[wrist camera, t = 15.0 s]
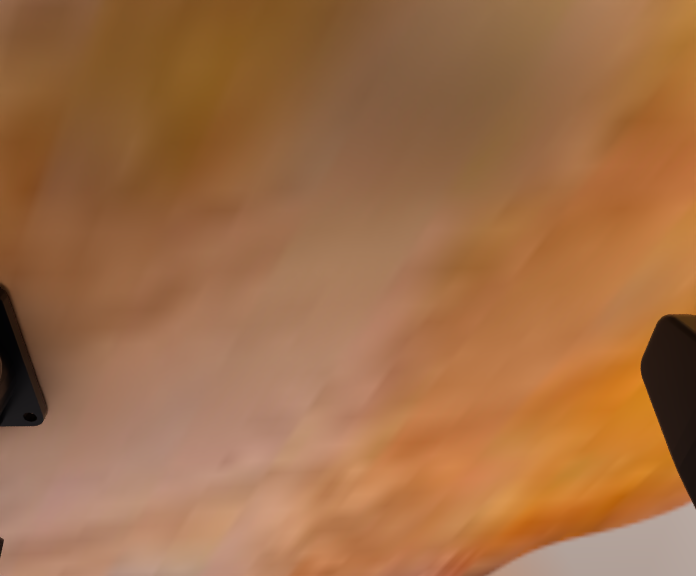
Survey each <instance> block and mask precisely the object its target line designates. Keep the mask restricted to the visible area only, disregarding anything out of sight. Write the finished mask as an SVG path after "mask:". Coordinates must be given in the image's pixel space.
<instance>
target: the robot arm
mask: <svg viewBox="0 0 696 576" xmlns="http://www.w3.org/2000/svg"><path fill="white" fill-rule="evenodd" d="M641 375H642V379H643V381H644V384H645V387H646V389H647V392H648V395H649V397H650V400H651V403H652V405H653V408H654V411H655V414H656V416H657V419H658V422H659V424H660V427H661V430H662V432H663V435H664V438H665V440H666V443H667V446H668V449H669V451H670V454H671V456H672V459H673V461H674V464H675V466H676V469H677V471H678V473H679V476H680V478H681V480H682V482H683V484H684V486H685V488H686V490H687V492H688V494H689V496H690V498H691V500H692V502H693V504H694V506H695V508H696V316H695V315H688V314H668V315H665V316H663V317H662V318H661V319H660V320H659V321H658V322H657V324H656V327H655V329H654V331H653V334H652V336H651V338H650V341H649V343H648V345H647V348H646V350H645V352H644V355H643V357H642V360H641ZM32 413H33V414H32ZM46 415H47V408H46V405H45V402H44V399H43V396H42V393H41V390H40V387H39V385H38V382H37V379H36V376H35V373H34V370H33V367H32V364H31V361H30V358H29V356H28V353H27V350H26V347H25V344H24V341H23V338H22V335H21V332H20V329H19V327H18V324H17V321H16V318H15V315H14V312H13V309H12V306H11V303H10V301H9V298H8V295H7V293H6V292H5V291H4V290H3V289H2V288H1V287H0V426H37V425H40V424H42V422H43V421H44V419H45V417H46ZM3 542H4V539H2V538H1V537H0V556H1V551H2V547H3Z"/></svg>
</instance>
